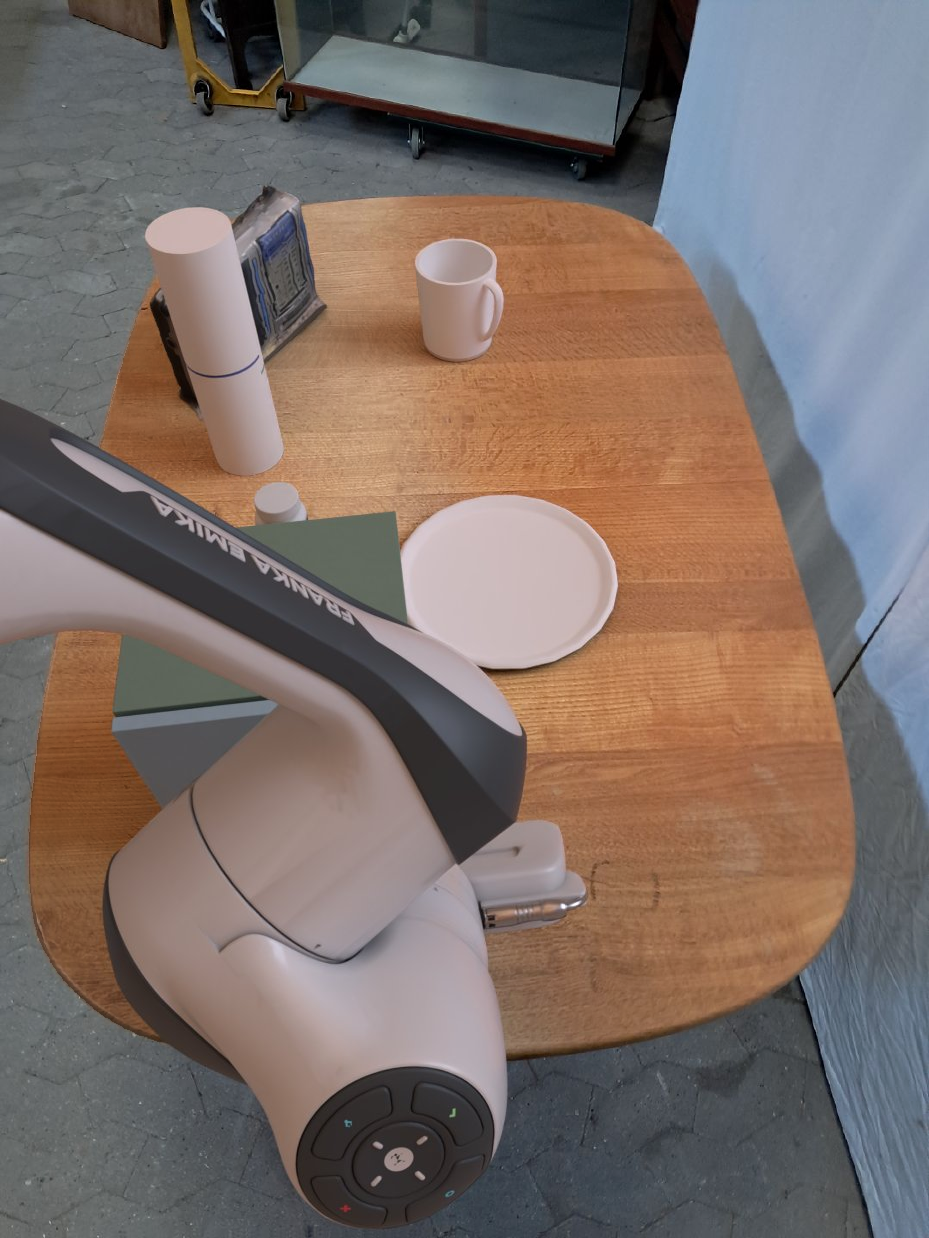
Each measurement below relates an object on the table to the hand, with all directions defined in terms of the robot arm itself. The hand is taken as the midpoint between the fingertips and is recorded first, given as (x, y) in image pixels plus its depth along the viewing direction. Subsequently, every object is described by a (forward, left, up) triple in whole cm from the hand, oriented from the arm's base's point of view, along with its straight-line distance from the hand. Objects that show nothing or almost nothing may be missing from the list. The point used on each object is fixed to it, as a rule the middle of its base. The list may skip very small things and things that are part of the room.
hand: (396, 833), depth 60 cm
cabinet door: (-4, +6, -9) cm, 12 cm away
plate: (+28, +11, -10) cm, 32 cm away
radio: (+38, +55, -10) cm, 68 cm away
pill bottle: (+18, +29, -10) cm, 36 cm away
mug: (+54, +36, -10) cm, 66 cm away
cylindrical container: (+26, +43, -10) cm, 51 cm away
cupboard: (+4, +13, -9) cm, 17 cm away
